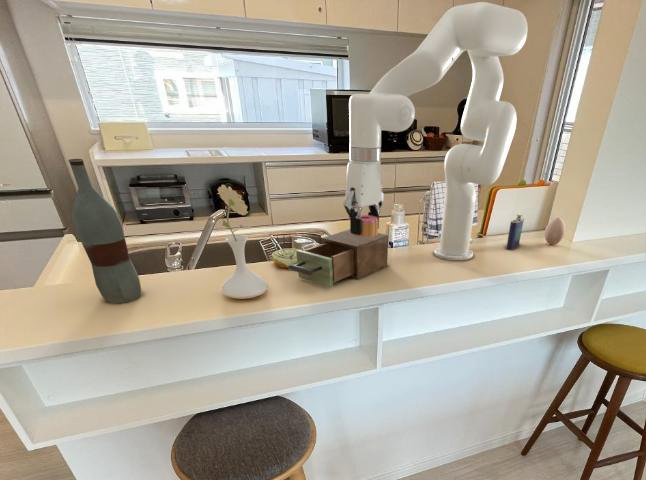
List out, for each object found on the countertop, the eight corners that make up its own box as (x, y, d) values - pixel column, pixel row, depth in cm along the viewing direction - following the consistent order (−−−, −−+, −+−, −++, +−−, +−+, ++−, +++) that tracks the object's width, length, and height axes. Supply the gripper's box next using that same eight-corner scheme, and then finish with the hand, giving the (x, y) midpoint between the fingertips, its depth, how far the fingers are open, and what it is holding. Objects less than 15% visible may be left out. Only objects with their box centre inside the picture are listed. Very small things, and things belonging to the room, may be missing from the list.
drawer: (316, 293, 105) (314, 264, 101) (284, 282, 111) (281, 255, 106) (361, 273, 118) (361, 247, 114) (331, 264, 123) (330, 239, 119)
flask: (513, 242, 150) (519, 211, 144) (521, 244, 149) (527, 212, 143) (504, 249, 144) (510, 216, 138) (512, 250, 143) (519, 217, 136)
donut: (362, 229, 116) (362, 213, 113) (382, 233, 113) (383, 217, 110) (346, 233, 111) (346, 217, 109) (367, 238, 108) (367, 222, 105)
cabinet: (357, 279, 117) (357, 246, 111) (323, 269, 122) (321, 237, 117) (387, 265, 126) (388, 235, 121) (354, 257, 132) (354, 227, 127)
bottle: (107, 291, 105) (57, 156, 88) (147, 288, 107) (106, 156, 90) (97, 306, 98) (41, 162, 81) (140, 302, 100) (94, 162, 83)
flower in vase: (275, 297, 105) (261, 189, 90) (229, 306, 99) (207, 193, 85) (258, 281, 114) (243, 180, 100) (215, 288, 108) (193, 183, 94)
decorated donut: (291, 272, 119) (289, 259, 117) (265, 265, 124) (263, 252, 122) (316, 263, 127) (315, 251, 124) (290, 256, 131) (289, 244, 129)
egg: (542, 241, 153) (548, 214, 148) (561, 243, 152) (568, 216, 147) (541, 245, 148) (548, 218, 143) (561, 248, 147) (568, 220, 141)
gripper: (373, 152, 109) (372, 223, 119) (329, 156, 97) (332, 235, 107) (397, 154, 106) (394, 227, 116) (355, 159, 94) (355, 240, 104)
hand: (364, 230), depth 111 cm, fingers closed on donut, 7 cm apart
